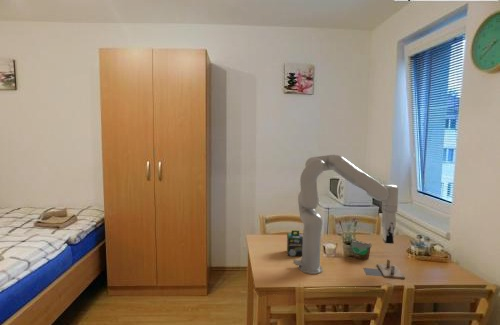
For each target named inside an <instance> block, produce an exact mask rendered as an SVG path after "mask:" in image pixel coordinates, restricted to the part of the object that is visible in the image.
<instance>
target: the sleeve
mask: <svg viewBox="0 0 500 325" xmlns="http://www.w3.org/2000/svg"><path fill="white" fill-rule="evenodd" d="M382 229H383V230H382V241H383V243H384V244H387V243H386V235H387V230H385V229H384V228H383V227H382ZM388 230H390V229H388ZM389 232H390V231H389ZM394 241H395V232H394V233H393V243H388V244H390V245H392V244H393V245H394V244H395V242H394Z"/></svg>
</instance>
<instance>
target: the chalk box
mask: <svg viewBox="0 0 500 325" xmlns="http://www.w3.org/2000/svg"><path fill="white" fill-rule="evenodd" d="M302 244H303V233H301V232H300V230H291V233H290V232H289V233H287V234H286V253H287V257H300V258H302Z"/></svg>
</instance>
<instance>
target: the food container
mask: <svg viewBox="0 0 500 325" xmlns="http://www.w3.org/2000/svg"><path fill="white" fill-rule="evenodd" d="M351 240H352V239H351ZM353 240H354V239H353ZM353 240H352V243H351V242H350V244H351V247H352V248H353V249H352V248H351V249H352V252H351V253H352V257H353V258H354V259H357V260H361V261H362V260H363V261H364V260H369V258H370V252H371V248H372V246H373V245H372V243H366V242H364V241H361V240H360V241H359V240H355V241H353Z"/></svg>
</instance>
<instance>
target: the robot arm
mask: <svg viewBox="0 0 500 325" xmlns="http://www.w3.org/2000/svg"><path fill="white" fill-rule="evenodd" d="M325 171H334V172H335V173H336V174H338V175H339V176H341V177H343V179H345V181H348V182H349V183H350V184H352V185H353V186H356V187H358V188H360V189H361V190H363V191H365V192H366V194H367V196H368V197H370V198H371V199H374V200H376V201H378V202H379V201H380V202H381V211H382V212H381V223H380V224H381V227H382V229H383V228H384V229H385V230H387V235H386V243H385V244H389V243H393V233H394V234H395V231H396V219H397V217H396V216H397V212H398V207H399V205H398V203H399V202H398V201H399V186H397V185H395V184H381V183H380V182H379V181H378V180H376V178H375V179H374V178H373V177H372V176H370V175H368V174H367V173H366V172H365V171H364V170H361V169H360V168H359V167H357V166H355V164H353V163H352V162H350V161H349V160H348V159H347V158H345V157H344V156H342V155H339V154H329V155H320V156H313V157H309V158H307V160H306V161H305V167H304V168H303V170H302V172H301V173H300V174H301V175H300V179H299V180H300V181H299V186H300V192H299V193H298V196H297V202H298V212H299V217H300V220H301V222H302V223H303V231H302V236H303V244H302V257H300V259H299V260H297V259H292V260H293V265H294V264H295V266H298V270H300V272H302V273H305V274H309V275H317V274H321V273H322V272H323V271H324V270H323V267H322V266H321V245H322V244H321V243H322V241H321V240H322V231H323V223H324V222H323V217H321V215H320V214H319V212H318V211H317V208H318V205H319V201H320V200H319V195H318V178H319V176H320V175H321V174H322V173H324V172H325ZM388 229H390V230H388ZM389 231H390V232H389Z"/></svg>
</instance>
